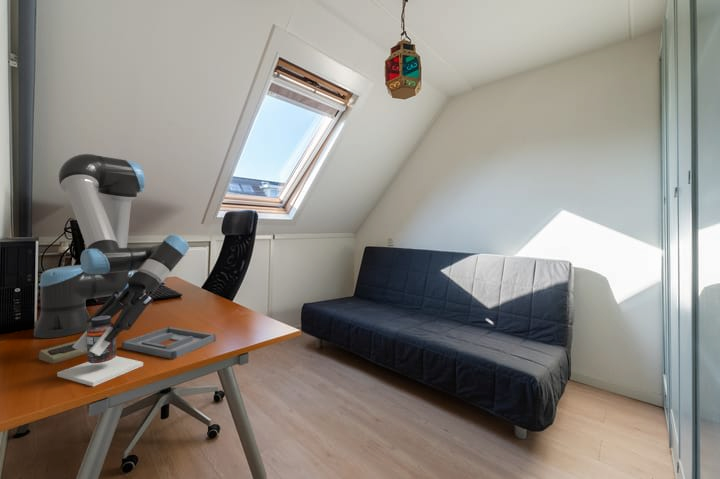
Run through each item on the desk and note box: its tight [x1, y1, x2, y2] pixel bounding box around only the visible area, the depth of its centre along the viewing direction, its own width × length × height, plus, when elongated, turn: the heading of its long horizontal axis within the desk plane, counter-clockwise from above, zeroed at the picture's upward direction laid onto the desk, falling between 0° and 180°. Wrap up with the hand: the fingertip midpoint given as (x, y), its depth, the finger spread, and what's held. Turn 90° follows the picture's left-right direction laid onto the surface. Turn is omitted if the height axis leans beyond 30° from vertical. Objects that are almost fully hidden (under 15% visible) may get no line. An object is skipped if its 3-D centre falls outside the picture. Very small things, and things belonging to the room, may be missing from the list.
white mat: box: [56, 355, 144, 387], centre depth 81 cm, size 14×12×1 cm
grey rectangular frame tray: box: [121, 326, 217, 360], centre depth 100 cm, size 22×16×2 cm
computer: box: [38, 339, 87, 365], centre depth 93 cm, size 16×8×3 cm, turn 157°
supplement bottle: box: [86, 316, 118, 363], centre depth 81 cm, size 6×6×11 cm
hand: (86, 351), depth 77 cm, fingers closed on supplement bottle, 6 cm apart
